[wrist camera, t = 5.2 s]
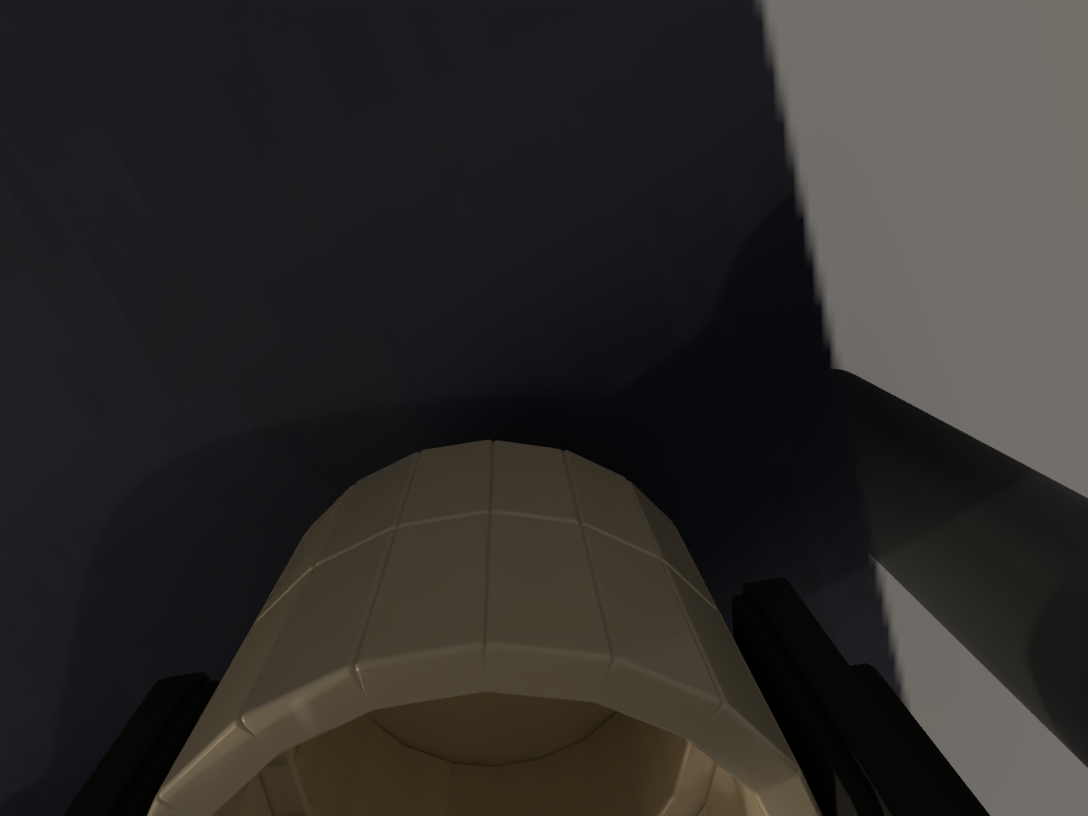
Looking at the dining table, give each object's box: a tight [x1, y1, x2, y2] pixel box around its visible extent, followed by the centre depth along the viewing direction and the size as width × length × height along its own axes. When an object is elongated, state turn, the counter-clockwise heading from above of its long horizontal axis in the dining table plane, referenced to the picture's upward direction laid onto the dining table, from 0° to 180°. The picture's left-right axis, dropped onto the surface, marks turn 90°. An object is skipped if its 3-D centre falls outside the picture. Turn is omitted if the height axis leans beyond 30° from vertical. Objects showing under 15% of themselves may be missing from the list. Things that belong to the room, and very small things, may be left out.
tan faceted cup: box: [146, 440, 824, 816], centre depth 9 cm, size 7×7×6 cm
